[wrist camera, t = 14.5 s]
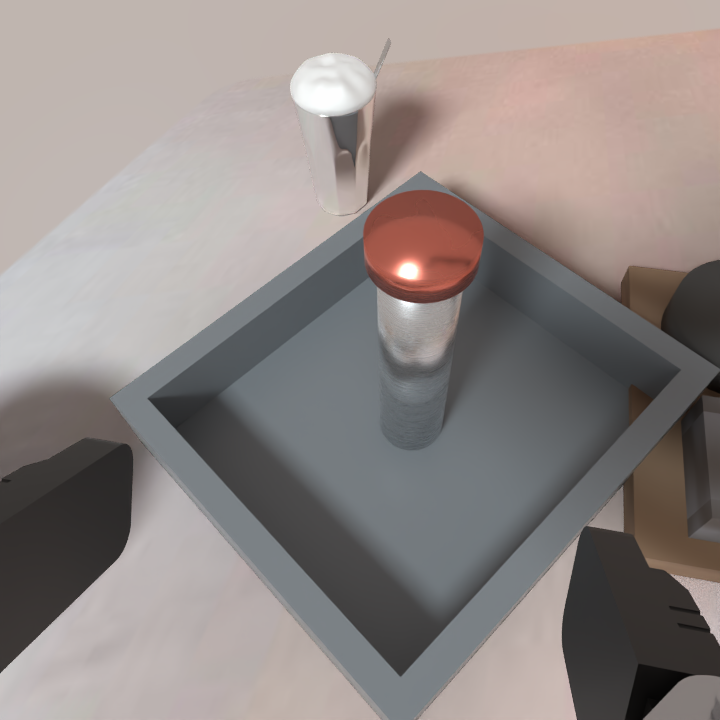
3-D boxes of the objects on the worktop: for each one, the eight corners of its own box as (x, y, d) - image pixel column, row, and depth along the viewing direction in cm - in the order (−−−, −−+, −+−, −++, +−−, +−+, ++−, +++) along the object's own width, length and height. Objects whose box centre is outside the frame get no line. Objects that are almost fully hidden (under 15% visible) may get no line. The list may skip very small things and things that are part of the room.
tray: (417, 229, 40) (420, 171, 36) (682, 416, 33) (720, 369, 29) (141, 441, 33) (109, 398, 30) (399, 740, 26) (401, 733, 22)
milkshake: (399, 214, 41) (401, 67, 33) (313, 230, 41) (293, 85, 32) (381, 164, 43) (379, 15, 35) (300, 179, 43) (279, 32, 34)
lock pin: (410, 374, 34) (420, 173, 23) (467, 422, 32) (508, 231, 21) (355, 421, 32) (338, 233, 21) (412, 474, 31) (425, 300, 20)
